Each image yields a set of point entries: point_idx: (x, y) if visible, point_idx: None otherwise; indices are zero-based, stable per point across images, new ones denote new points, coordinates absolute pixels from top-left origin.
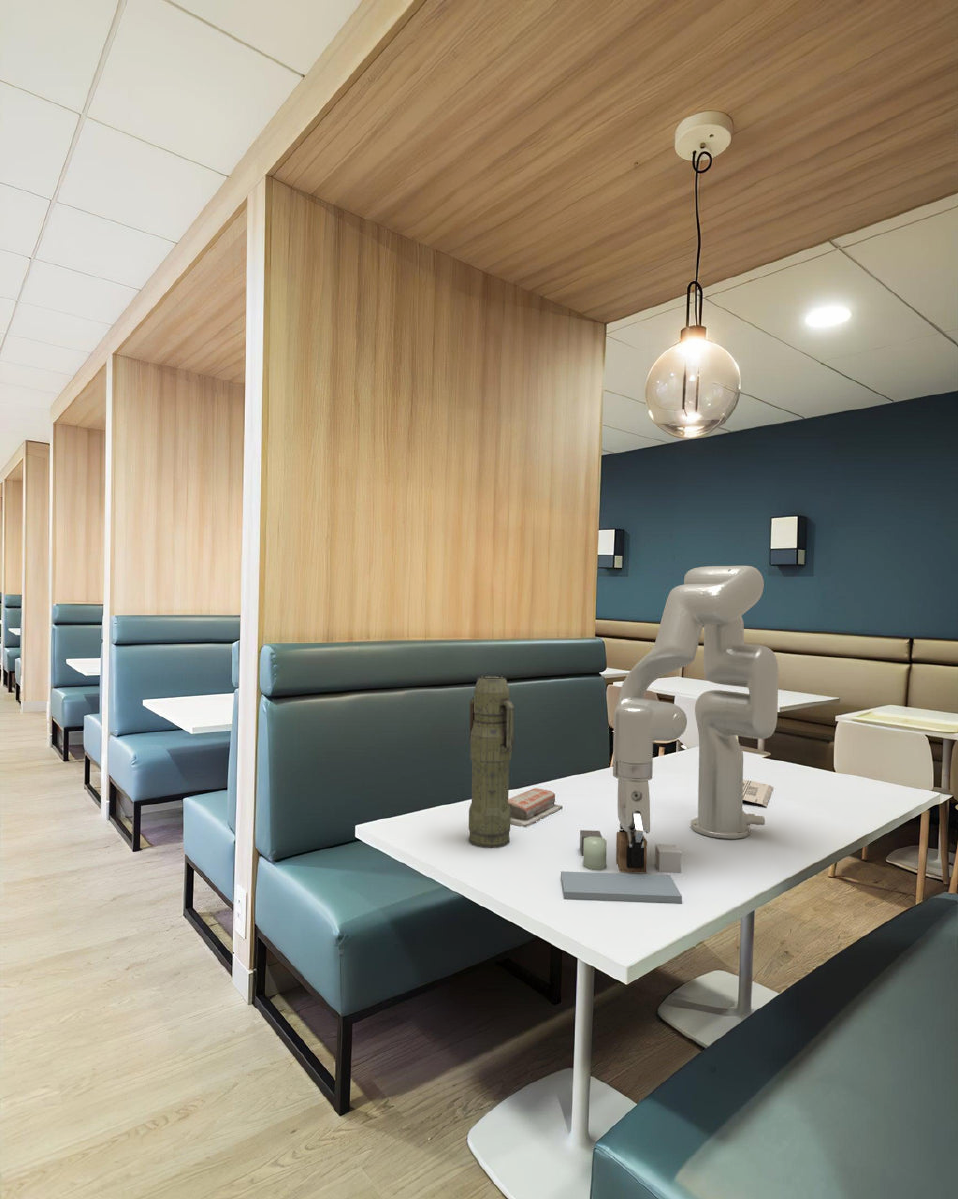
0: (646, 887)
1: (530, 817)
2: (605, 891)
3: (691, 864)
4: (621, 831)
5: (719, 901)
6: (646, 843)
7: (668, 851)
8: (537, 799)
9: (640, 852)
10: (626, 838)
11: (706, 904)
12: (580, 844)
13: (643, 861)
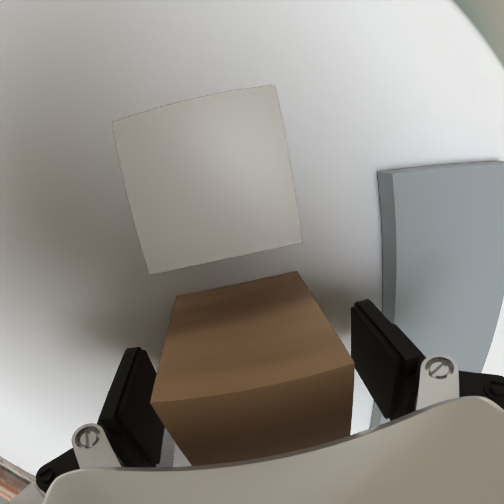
0: (481, 269)
1: None
2: (481, 359)
3: (120, 63)
4: (150, 464)
5: (462, 42)
6: (349, 357)
7: (279, 176)
8: (12, 496)
9: (422, 353)
10: None
11: (488, 89)
12: None
13: (379, 314)
